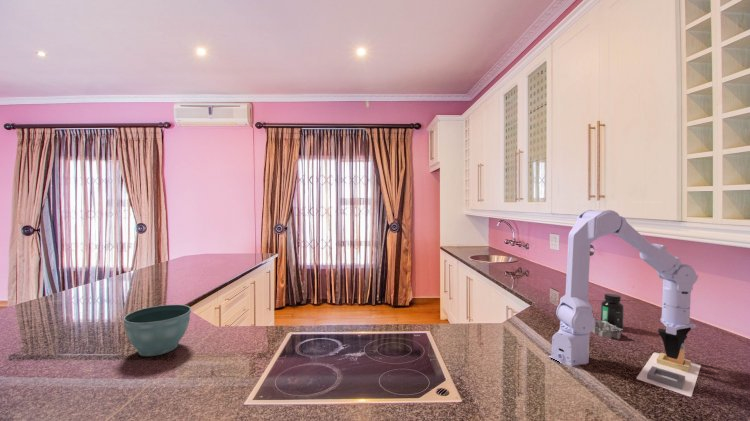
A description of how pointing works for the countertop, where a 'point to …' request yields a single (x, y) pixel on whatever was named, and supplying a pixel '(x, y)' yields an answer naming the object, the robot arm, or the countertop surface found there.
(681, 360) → the peg
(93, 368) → the countertop surface
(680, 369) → the socket board
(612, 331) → the egg carton
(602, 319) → the supplement bottle
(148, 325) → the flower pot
